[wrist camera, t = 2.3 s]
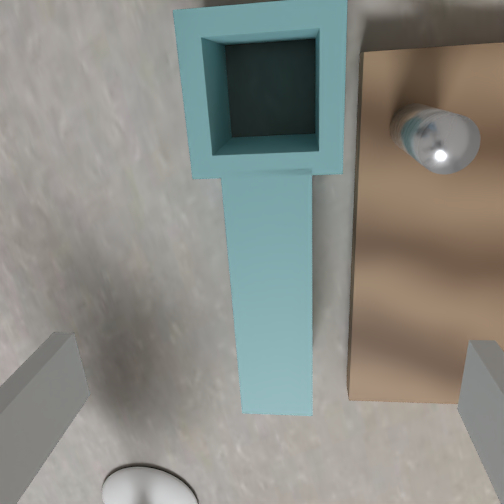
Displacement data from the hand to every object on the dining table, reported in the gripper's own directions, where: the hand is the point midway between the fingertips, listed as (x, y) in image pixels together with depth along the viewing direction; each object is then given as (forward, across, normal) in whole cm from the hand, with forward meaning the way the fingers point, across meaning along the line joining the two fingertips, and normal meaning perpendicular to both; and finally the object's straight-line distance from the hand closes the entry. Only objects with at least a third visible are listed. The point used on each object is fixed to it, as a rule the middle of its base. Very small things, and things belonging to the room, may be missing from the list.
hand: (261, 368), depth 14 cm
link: (+12, 0, +2) cm, 12 cm away
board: (+12, +12, 0) cm, 17 cm away
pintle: (+12, +7, +6) cm, 15 cm away
